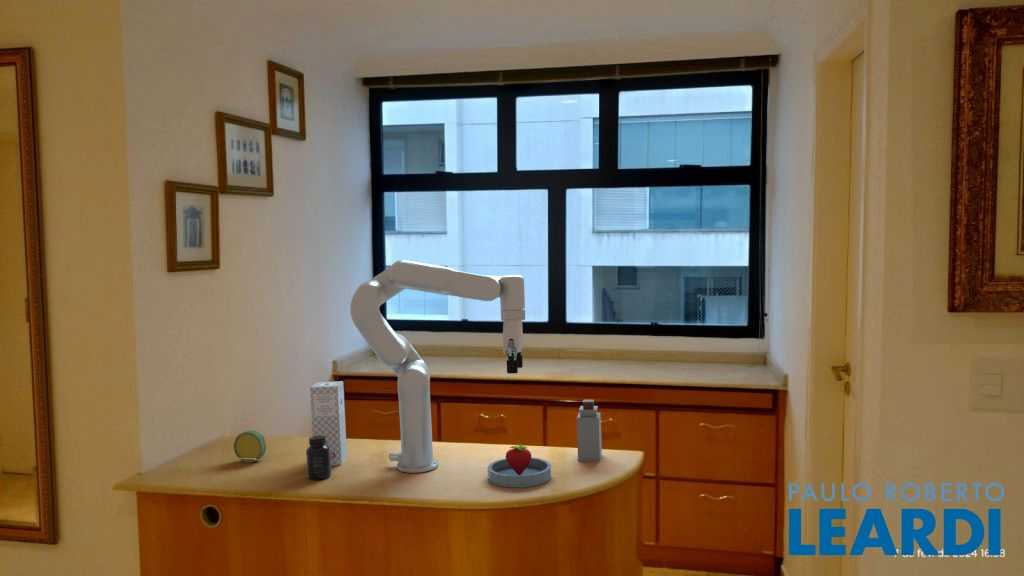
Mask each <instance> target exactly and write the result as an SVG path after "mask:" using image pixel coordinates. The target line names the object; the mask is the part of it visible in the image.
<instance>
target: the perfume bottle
mask: <svg viewBox="0 0 1024 576" xmlns="http://www.w3.org/2000/svg"><path fill="white" fill-rule="evenodd" d="M594 404H595V399H583V400H582V405H580V407H579V409H578V411H579V412H578V414H577V416H576V437H577V438H576V439H577V440H576V441H577V442H576V443H577V461H578V462H601V459H602V456H603V455H602V417H601V416H602V415H601V412H598V407H599V406H598V405H594Z"/></svg>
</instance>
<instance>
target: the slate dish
mask: <svg viewBox="0 0 1024 576" xmlns="http://www.w3.org/2000/svg"><path fill="white" fill-rule="evenodd" d="M487 477H488V482H489V483H491V484H492V485H494V486H497V487H501V488H510V489H526V488H533V487H539V486H541V485H544V484H546V483H548V482H549V481H550V480H551V479H552V464H551V463H550V462H549V461H548V460H545V459H543V458H538V457H533V456H531V461H530V463H529V465H528V466H527V468H526V469H525V470H524V471H523V473H522V474H521V475H518V474H516V472H515V471H514V470H513V469H512V468H511V467H510V465H509V464H508V462H507V460H506V457H505V458H502V459H501V458H500V459H498V460H495V461H493V462H490V463H489V465H488V466H487Z"/></svg>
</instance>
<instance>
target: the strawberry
mask: <svg viewBox="0 0 1024 576" xmlns="http://www.w3.org/2000/svg"><path fill="white" fill-rule="evenodd" d="M518 441H519V443H521V442H520V441H521V440H520V439H518ZM531 457H532V453H531V451H530V450H529V449H528V447H527V446H523V444H519V445H518V446H517V445H513V446H510V447H509V450H508V451H506V452H505V458H506V460H507V462H508V464H509V465H510V467H511V468H512V469H513V470H514V471H515V472H516V474H518V475H521V474H522V473H523V471H524V470H525V469H526V468H527V466H528V465H529V463H530V461H531Z"/></svg>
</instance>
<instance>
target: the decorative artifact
mask: <svg viewBox="0 0 1024 576" xmlns="http://www.w3.org/2000/svg"><path fill="white" fill-rule="evenodd" d="M233 451H234V454H235V456H236V457H237V458H238V459H239V458H256V459H258V460H260V459H261V458H263V456H264V455H265V453H266V451H267V442H266V440H265V437H264V435H263V434H262V433H260V432H259V431H257V430H251V429H249V430H246V431H244V432H241V433H239V434H238V435H237V437H236V438H235V439H234V442H233ZM239 460H240V461H242V463H243V462H244V463H246V464H249V463H250V464H251V463H254V462H256V461H257V460H254V459H239Z"/></svg>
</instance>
